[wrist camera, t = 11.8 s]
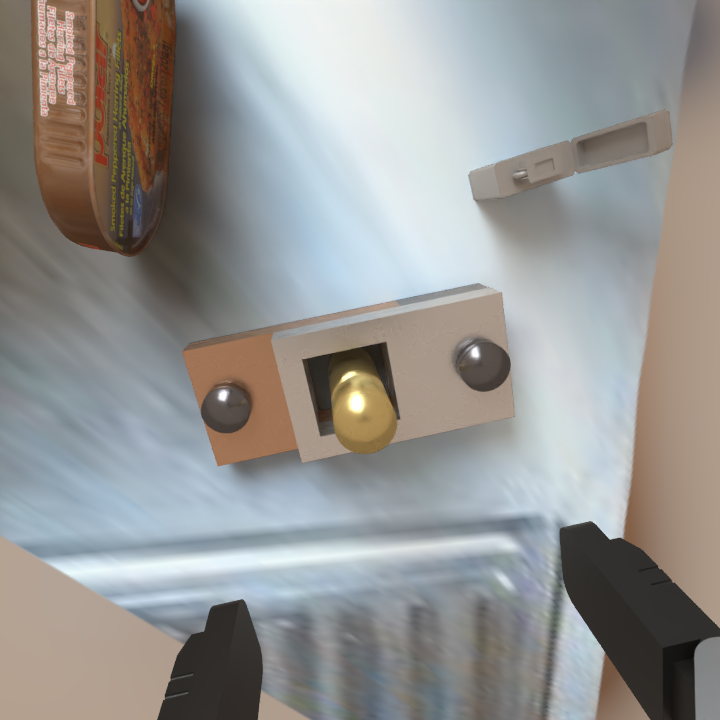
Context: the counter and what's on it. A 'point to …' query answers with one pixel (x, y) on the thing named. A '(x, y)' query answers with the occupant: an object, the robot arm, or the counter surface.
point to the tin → (103, 117)
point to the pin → (360, 403)
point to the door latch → (348, 331)
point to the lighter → (574, 156)
